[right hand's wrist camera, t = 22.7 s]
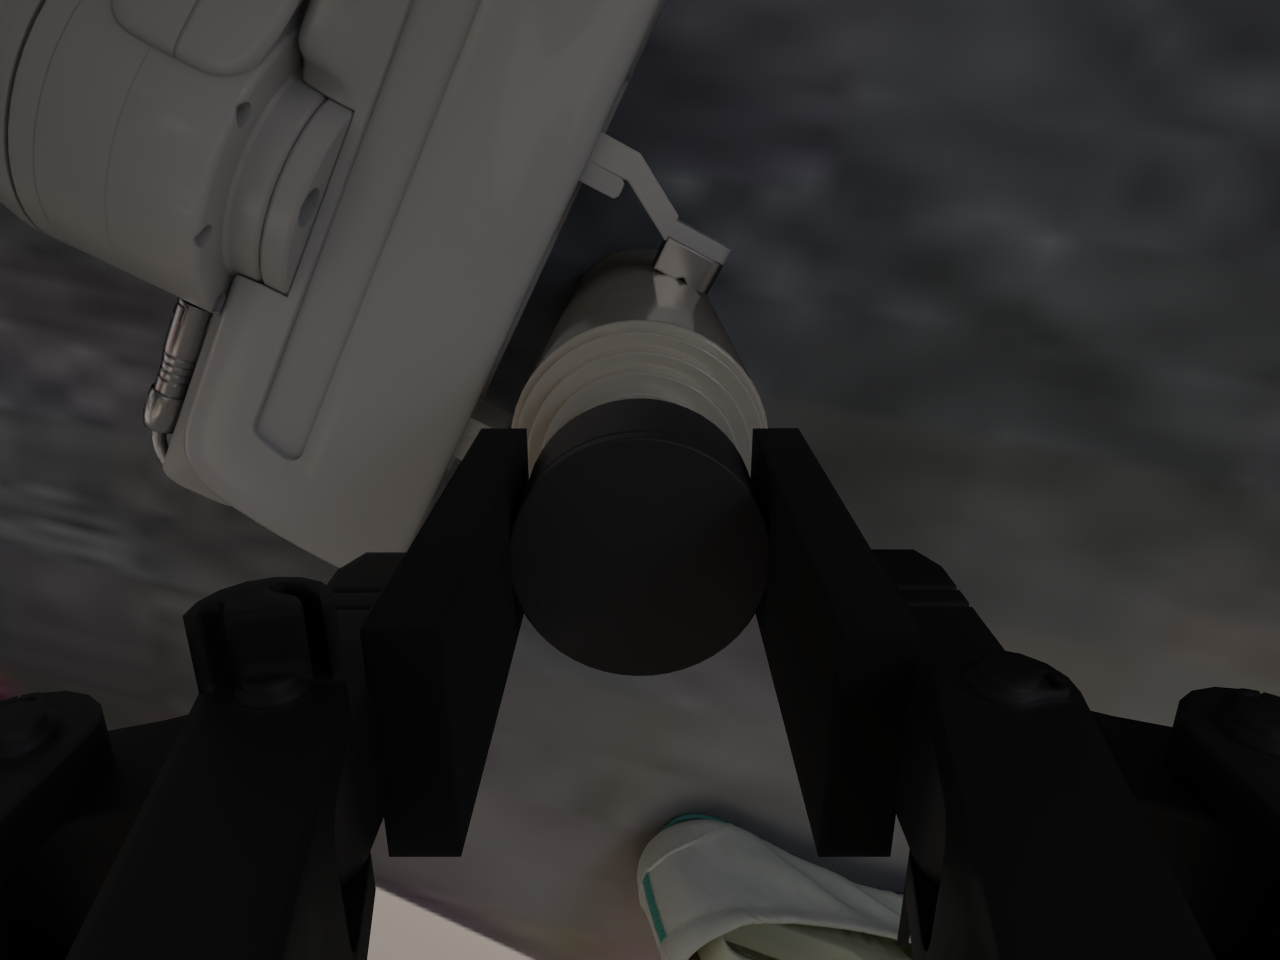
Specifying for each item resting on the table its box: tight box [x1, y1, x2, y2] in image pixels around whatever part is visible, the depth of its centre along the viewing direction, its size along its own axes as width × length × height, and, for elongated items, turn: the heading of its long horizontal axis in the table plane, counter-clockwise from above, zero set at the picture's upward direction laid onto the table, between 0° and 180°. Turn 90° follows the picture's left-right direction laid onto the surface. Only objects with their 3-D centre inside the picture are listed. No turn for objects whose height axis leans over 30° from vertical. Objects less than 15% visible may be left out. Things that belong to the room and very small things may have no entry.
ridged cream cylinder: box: [511, 248, 768, 478], centre depth 22 cm, size 5×5×20 cm
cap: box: [510, 398, 770, 676], centre depth 13 cm, size 4×4×2 cm
